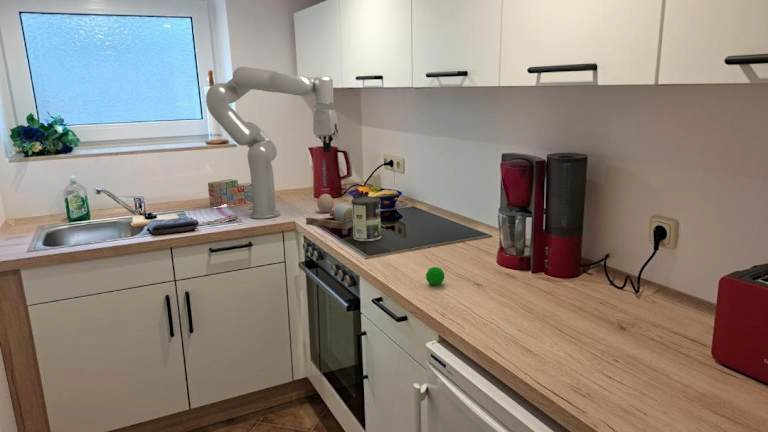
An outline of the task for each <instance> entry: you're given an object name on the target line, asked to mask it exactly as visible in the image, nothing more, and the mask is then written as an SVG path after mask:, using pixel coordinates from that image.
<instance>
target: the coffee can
mask: <svg viewBox="0 0 768 432" xmlns="http://www.w3.org/2000/svg"><path fill="white" fill-rule="evenodd" d="M380 201H381V198H379V197H376V196H363V197H361V196H360V197H356V198H353V199H351V207H352V214H353V227H352V228H353V230H352V231H353V233H352V234H353V237H352V239H354V240H355V241H359V242H372V241H377V240H380V239H381V238H382V222H381V219H382V217H381V204H380Z"/></svg>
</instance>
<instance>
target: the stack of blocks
mask: <svg viewBox="0 0 768 432" xmlns="http://www.w3.org/2000/svg"><path fill="white" fill-rule="evenodd" d="M207 186H208V187H207V189H208V190H207V191H208V197H209V206H210V208H211V207H218V206H221V205H224V204H227V205H229V206H231V205H237V204H242V203H247V204H249V203H248V202H252V203H253V196H252V184H251V182H250V181H249V182H244V183H243V182H241V183H239V181H238V179H233V178H228V179H222V180H216V181H210V182H207ZM242 205H243V204H242ZM237 206H238V205H237Z"/></svg>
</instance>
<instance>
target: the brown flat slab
mask: <svg viewBox="0 0 768 432" xmlns="http://www.w3.org/2000/svg"><path fill="white" fill-rule="evenodd" d="M329 211H330V212H329V217H334V209H332V210H329ZM305 224H307V225H311V226H318V227H325V228H332V229H341V230H349V229H351V228H353V218H352V219H349V220H346V221H343V222H340V221H337V220H331V219H325V218H323V219H322V218H315V217H308V216H307V217H305Z"/></svg>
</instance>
